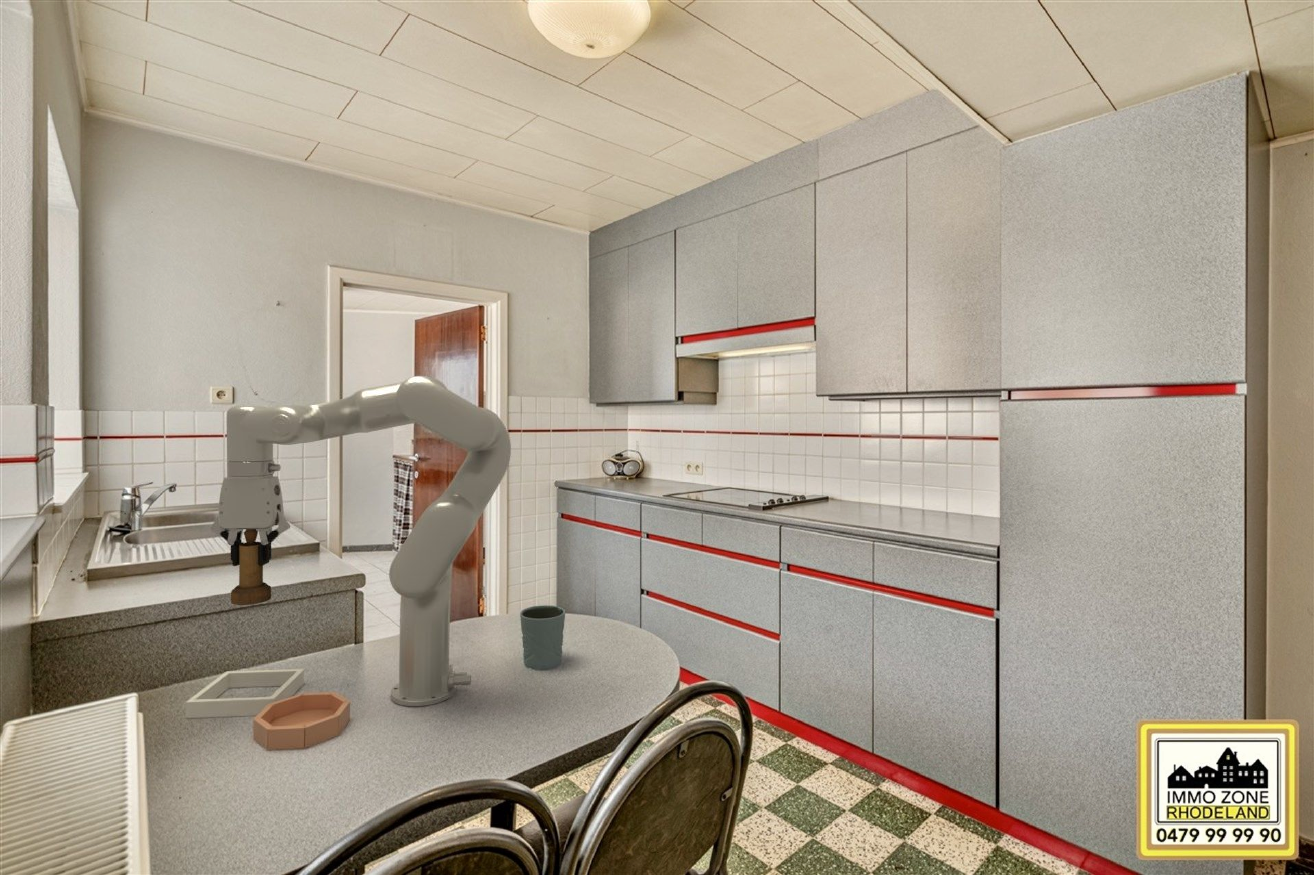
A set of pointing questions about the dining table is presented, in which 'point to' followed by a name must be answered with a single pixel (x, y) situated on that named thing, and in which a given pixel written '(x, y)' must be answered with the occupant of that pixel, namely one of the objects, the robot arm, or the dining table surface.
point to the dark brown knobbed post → (250, 574)
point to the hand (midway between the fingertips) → (251, 563)
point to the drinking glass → (542, 636)
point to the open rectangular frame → (209, 706)
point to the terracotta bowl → (301, 720)
